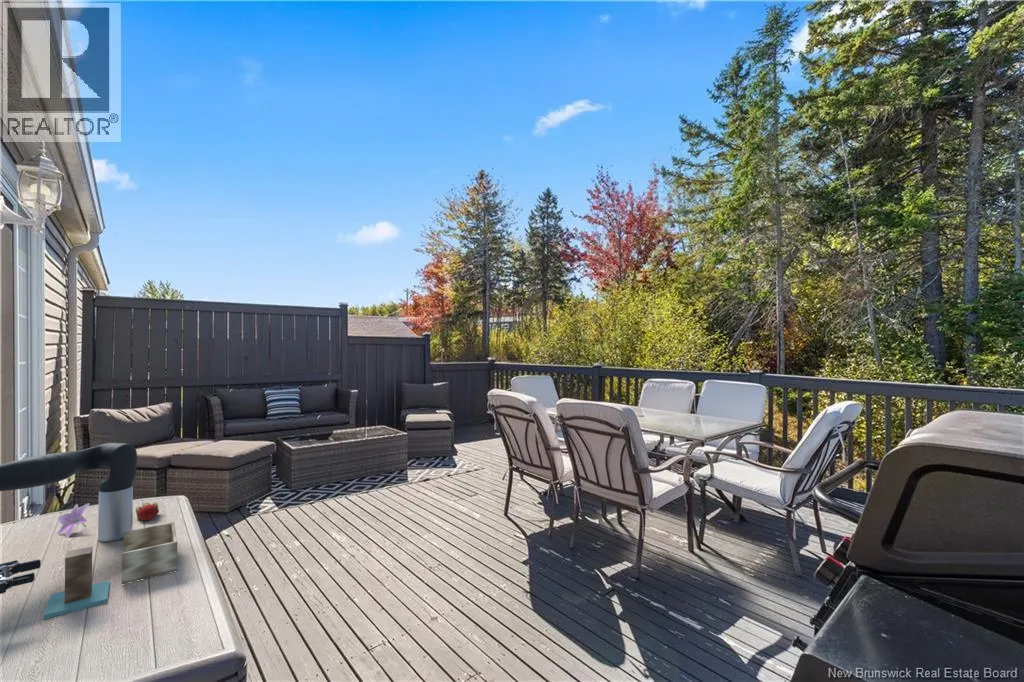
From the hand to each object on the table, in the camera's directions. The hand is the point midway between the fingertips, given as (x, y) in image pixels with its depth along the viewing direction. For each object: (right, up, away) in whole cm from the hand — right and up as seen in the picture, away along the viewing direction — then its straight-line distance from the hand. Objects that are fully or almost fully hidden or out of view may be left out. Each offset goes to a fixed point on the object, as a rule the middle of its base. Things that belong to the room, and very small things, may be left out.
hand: (37, 569), depth 118 cm
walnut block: (+6, -10, +5) cm, 12 cm away
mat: (+6, -11, +5) cm, 13 cm away
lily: (-37, -11, +48) cm, 62 cm away
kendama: (-23, -11, +65) cm, 70 cm away
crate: (+10, -11, +24) cm, 28 cm away
